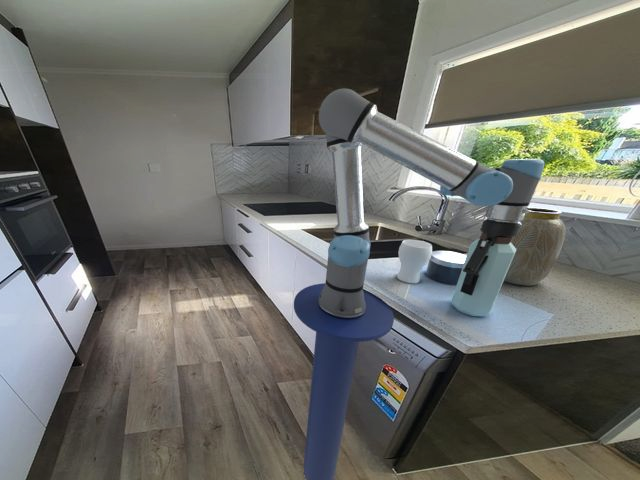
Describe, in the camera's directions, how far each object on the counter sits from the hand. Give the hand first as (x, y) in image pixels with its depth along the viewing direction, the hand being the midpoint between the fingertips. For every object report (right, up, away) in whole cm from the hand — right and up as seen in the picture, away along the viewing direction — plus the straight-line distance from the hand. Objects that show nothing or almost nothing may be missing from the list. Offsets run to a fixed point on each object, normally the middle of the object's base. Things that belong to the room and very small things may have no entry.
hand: (477, 287), depth 74 cm
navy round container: (+8, +1, +23) cm, 25 cm away
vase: (+33, +1, +22) cm, 40 cm away
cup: (-7, 0, +23) cm, 24 cm away
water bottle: (0, -7, +3) cm, 8 cm away
